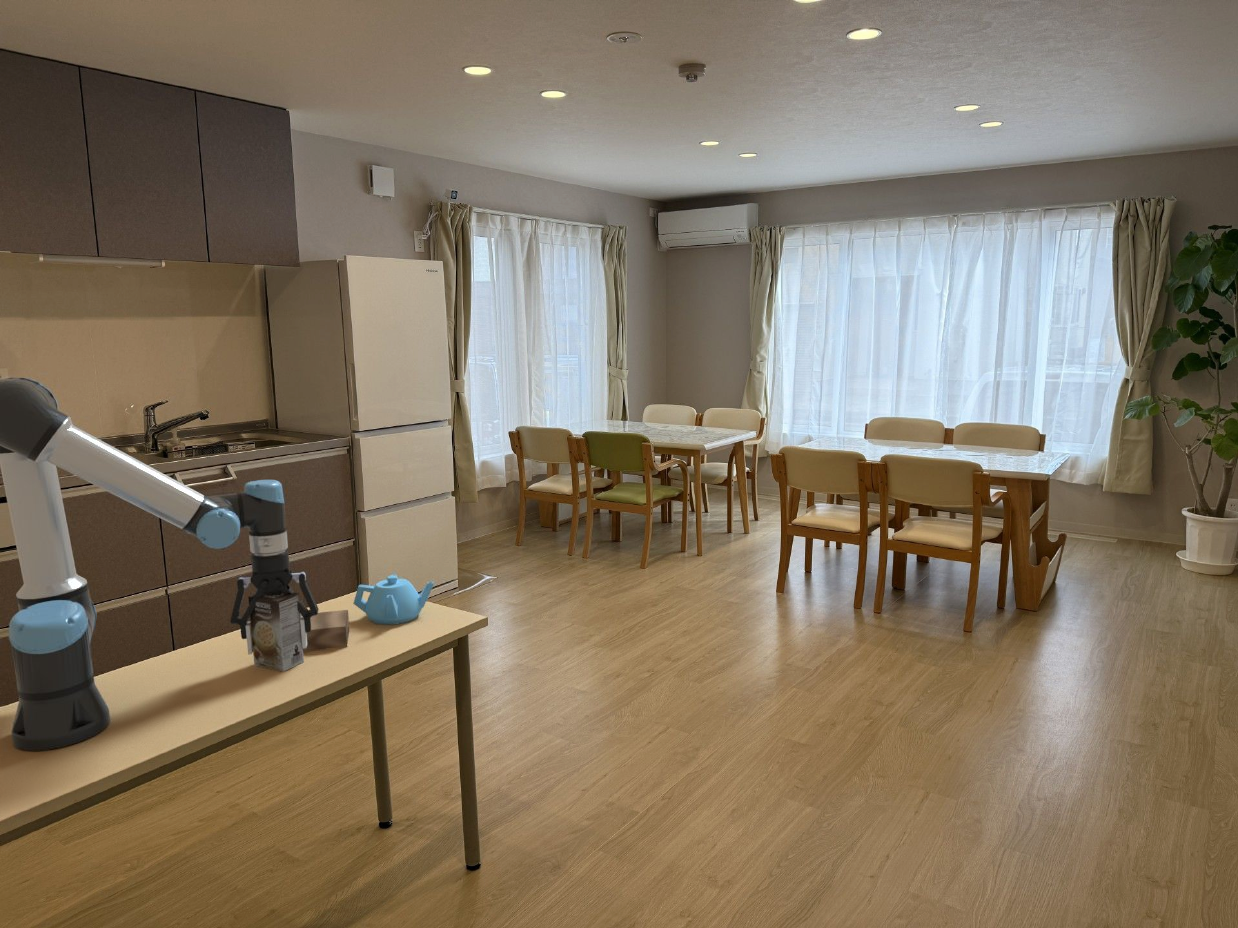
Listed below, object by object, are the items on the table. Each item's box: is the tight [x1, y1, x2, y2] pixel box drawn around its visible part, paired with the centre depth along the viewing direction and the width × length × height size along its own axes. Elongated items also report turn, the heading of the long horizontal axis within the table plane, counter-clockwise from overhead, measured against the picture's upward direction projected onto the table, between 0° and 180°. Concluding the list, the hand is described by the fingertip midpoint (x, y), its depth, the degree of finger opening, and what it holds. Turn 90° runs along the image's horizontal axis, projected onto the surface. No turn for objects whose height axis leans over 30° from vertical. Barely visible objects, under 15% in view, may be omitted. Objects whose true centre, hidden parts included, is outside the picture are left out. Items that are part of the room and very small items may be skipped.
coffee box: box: [248, 591, 305, 672], centre depth 185 cm, size 9×6×16 cm
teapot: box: [352, 573, 434, 626], centre depth 214 cm, size 15×15×11 cm
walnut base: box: [300, 609, 350, 653], centre depth 199 cm, size 12×12×5 cm
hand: (278, 649), depth 185 cm, fingers closed on coffee box, 10 cm apart
